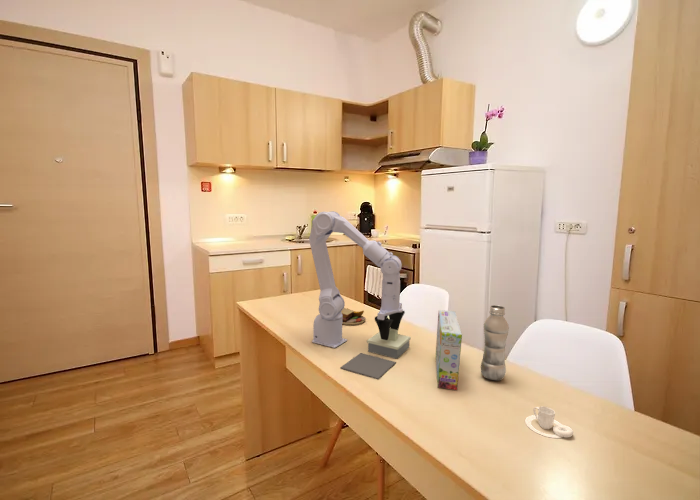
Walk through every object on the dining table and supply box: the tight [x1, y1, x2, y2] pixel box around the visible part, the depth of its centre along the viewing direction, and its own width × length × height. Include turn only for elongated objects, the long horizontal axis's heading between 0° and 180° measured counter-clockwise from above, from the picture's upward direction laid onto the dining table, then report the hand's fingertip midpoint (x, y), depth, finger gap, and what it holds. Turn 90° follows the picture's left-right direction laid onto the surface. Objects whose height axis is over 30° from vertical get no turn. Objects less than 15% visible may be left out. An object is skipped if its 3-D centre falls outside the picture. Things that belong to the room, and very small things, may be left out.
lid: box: [366, 329, 412, 350], centre depth 116 cm, size 11×11×4 cm
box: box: [367, 340, 410, 360], centre depth 116 cm, size 10×10×3 cm
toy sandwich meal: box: [341, 307, 366, 326], centre depth 144 cm, size 12×14×5 cm
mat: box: [340, 352, 397, 380], centre depth 104 cm, size 12×12×1 cm
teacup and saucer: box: [524, 406, 574, 439], centre depth 76 cm, size 9×8×4 cm
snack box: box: [435, 309, 463, 391], centre depth 101 cm, size 21×6×15 cm, turn 168°
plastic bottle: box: [480, 304, 510, 382], centre depth 97 cm, size 6×7×20 cm
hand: (389, 335), depth 116 cm, fingers open, 7 cm apart
